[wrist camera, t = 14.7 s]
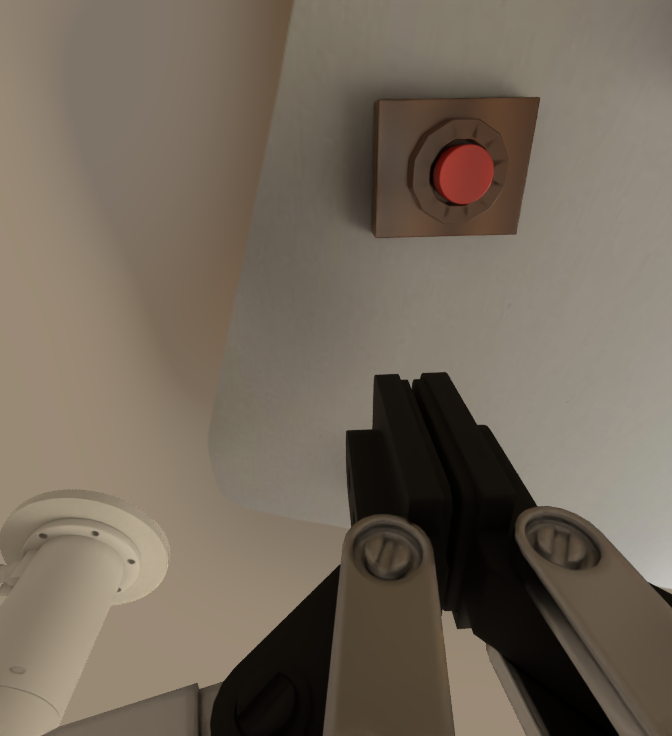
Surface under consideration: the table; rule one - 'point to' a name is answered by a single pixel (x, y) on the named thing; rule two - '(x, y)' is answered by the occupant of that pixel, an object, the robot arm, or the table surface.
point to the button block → (426, 144)
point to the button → (463, 173)
